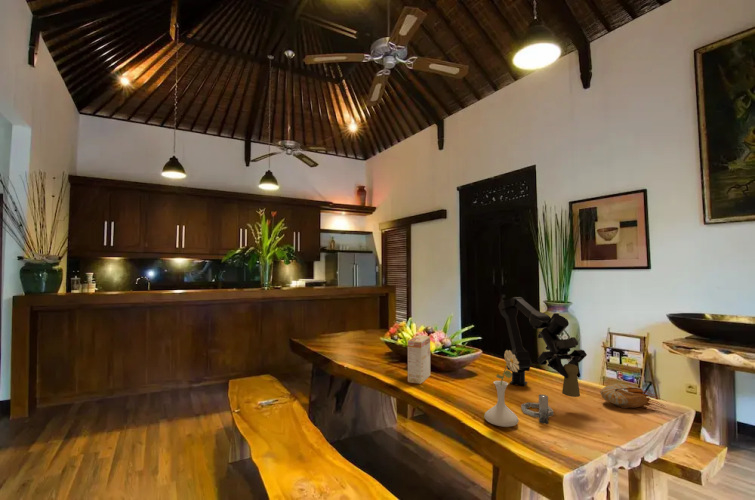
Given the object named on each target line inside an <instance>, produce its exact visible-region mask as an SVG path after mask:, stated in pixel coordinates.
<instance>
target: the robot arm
mask: <svg viewBox="0 0 755 500" xmlns="http://www.w3.org/2000/svg"><path fill="white" fill-rule="evenodd" d="M497 308H498V309H499V313H500V315H501V316H502V317H503V319H505V323H506V328H507V333H508V337H509V341H510V345H511V352H512V354H513V355H515V356H516V357H515V358H516V359H517V361H518V362H519V364H518V365H519V370H518V369H517V371H518V372H515V371H514V372H513V371H511V370H510V368H509V367H508V366H507V367H506V370H508V371H510V372H511V373H512V376H511V380H510V381H509V384H510V385H515V386H518V387H519V386H520V387H525V386H526V385H527V384H528V381H526V372H530V369H531V365H532V359H531V356H530V351H529V350H526V349H525V347H524V346H523V342H522V337H521V334H520V333H521V332H520V328H519V325H518V320H517V316H518V313H519V311H520V312H521V313H522V314H524V316H525V317H526V318H528V320H529V321H528V322H529V325H531V326H532V328H533V329H535V330H540V329H541V330H540V331H539V332H538V335H537V339H542V340H543V342H544V343H545V350H547V351H542V352H541V353H540V354H539V356H538V357H537V362H538V365H540V366H546V365H547V367H550V368H551V369H553V370H554V371H556V372H557V373H559V374H560V375H561V376H562V377H563V378H564V377H565V378H568V375H567V372H566V371H565V369H564V367H563V366H564V365H563V364H562V360H566V361H567V364H573V365H576V366H577V367H578V374H577V378H578V379H579V378H581V372H580V367H579V363H581V362H582V361H583V360H584V359H585V358H586V356H588V355H587V353H586V350H584V349H574V348H577V346H578V345H579V341H578V339H577V338H576V337H575V336H573V337H572V336H571V337H569V338H565V339H560V337H559V335H561V334H562V333H563V332H564V331H565V330H566V329H567V328H568V327H569V324H570V322H569V321H568V319H567V318H565V316H562V315H561V314H560V313H558V312H557V313H555V312H554V313H553V314H552V316H549V314H548V313H547V314H546V313H545V312H541V311H539V310H537V309H536V308H534V307H533V306H532V305H531V304H529V303H528V302H527V301H526V300H525V299H524V298H523V297H521V296H518V297H517V296H514V297H511V298H509V299H505V300H501V301H499V303H498V307H497ZM571 349H574V350H573V351H571Z"/></svg>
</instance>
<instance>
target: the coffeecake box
mask: <svg viewBox="0 0 755 500" xmlns="http://www.w3.org/2000/svg"><path fill="white" fill-rule="evenodd" d="M430 376H431V336H428V335H422V334H421V335H417V334H416V336H414V337H412V338H410V339H408V340H407V382H408V383H410V384H411V383H413V384H418V385H419V384H420V385H421V384H423V383H424V381H426V380H427V379H428V378H429V377H430Z"/></svg>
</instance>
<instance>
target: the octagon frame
mask: <svg viewBox="0 0 755 500" xmlns="http://www.w3.org/2000/svg"><path fill="white" fill-rule="evenodd" d="M529 407H532V408H531V409H538V411H534V410H531V409H529ZM551 407H552V406H549V396H548V395H546V394H539V395H538V402H526V403H525V402H524V403H522V404H521V405H520V408H521V412H522V414H525V415H527V416H530V417H533V418H538V422H539V423H540V424H542V425H548V424H549V418H550V417H553V416H554V410H553V408H551Z"/></svg>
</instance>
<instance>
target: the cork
mask: <svg viewBox="0 0 755 500" xmlns="http://www.w3.org/2000/svg"><path fill="white" fill-rule="evenodd" d="M563 367H564V369H565V371H566V372H567V375H568V378H565V377H564V376H563V384H562V391H561V393H562V394H563V395H564V396H566V397H570V398H571V397H573V398H578V397H581V394H580V393H581V391H580V384H579V378H578V377H577V374H578V367H577V366H576V365H573V364H568V363H566V364H564V365H563Z"/></svg>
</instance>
